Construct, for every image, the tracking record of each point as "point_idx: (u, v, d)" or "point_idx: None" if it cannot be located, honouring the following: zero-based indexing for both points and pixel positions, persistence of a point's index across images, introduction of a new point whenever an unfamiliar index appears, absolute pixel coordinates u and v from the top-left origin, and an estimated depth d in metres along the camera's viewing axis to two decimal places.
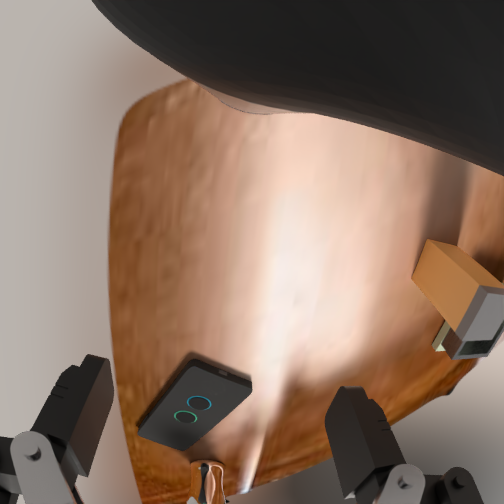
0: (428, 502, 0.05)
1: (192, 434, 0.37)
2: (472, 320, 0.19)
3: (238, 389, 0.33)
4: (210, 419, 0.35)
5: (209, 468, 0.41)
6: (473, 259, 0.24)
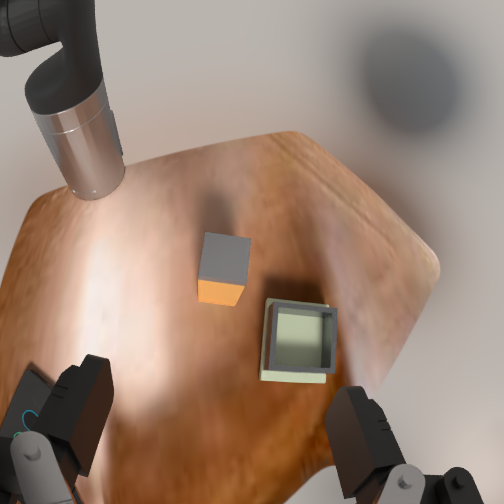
0: (428, 502, 0.05)
1: None
2: (201, 256, 0.29)
3: None
4: None
5: None
6: None
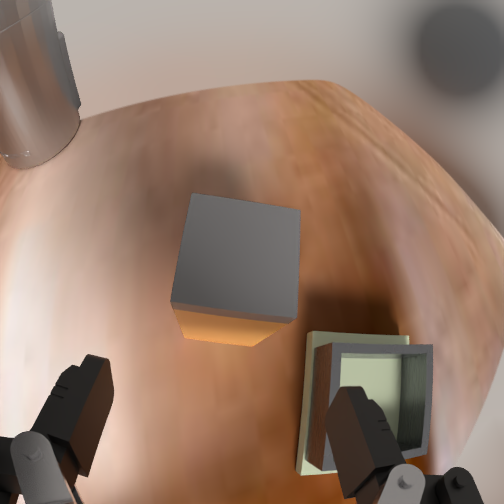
0: (428, 502, 0.05)
1: None
2: (180, 251, 0.11)
3: None
4: None
5: None
6: None
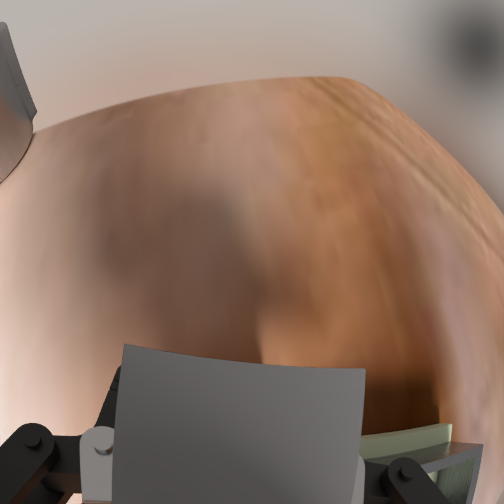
0: (370, 492, 0.06)
1: None
2: (113, 474, 0.04)
3: None
4: None
5: None
6: None
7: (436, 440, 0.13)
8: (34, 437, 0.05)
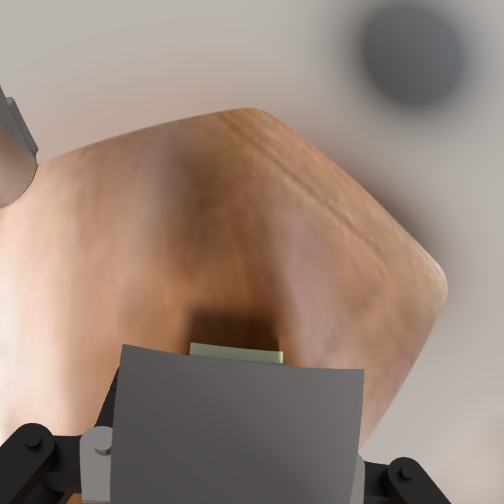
0: (370, 492, 0.06)
1: None
2: (112, 474, 0.04)
3: None
4: None
5: None
6: None
7: (268, 360, 0.26)
8: (34, 437, 0.05)
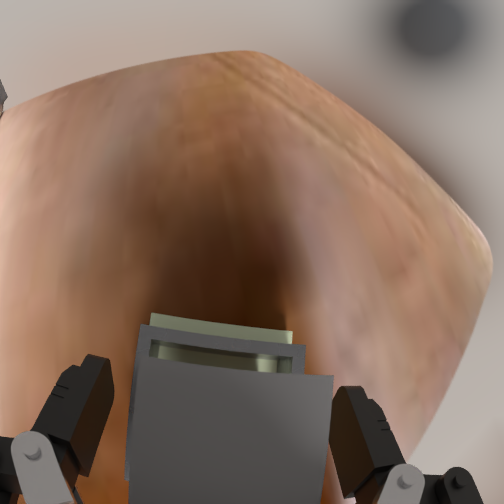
0: (428, 502, 0.05)
1: None
2: (131, 458, 0.05)
3: None
4: None
5: None
6: None
7: None
8: None
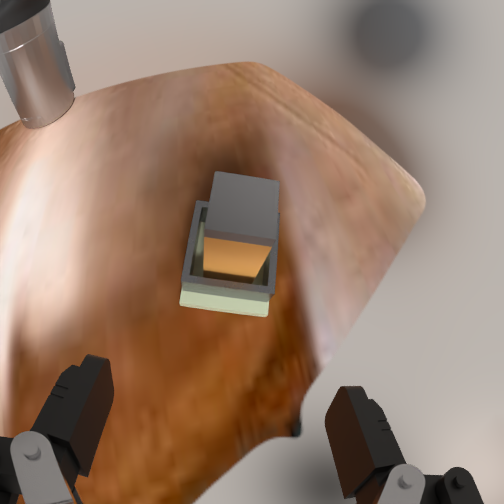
0: (428, 502, 0.05)
1: None
2: (209, 202, 0.20)
3: None
4: None
5: None
6: None
7: None
8: None
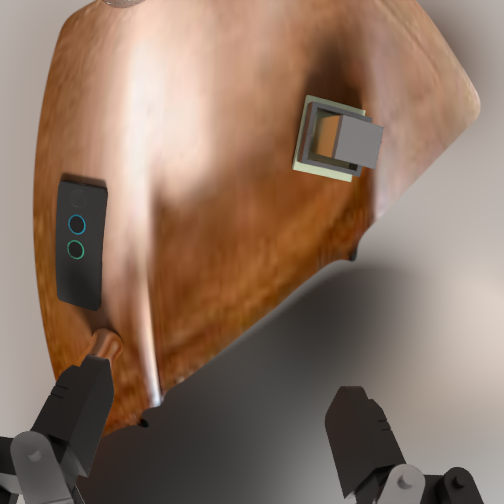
0: (428, 502, 0.05)
1: (90, 276, 0.42)
2: (338, 139, 0.28)
3: (94, 194, 0.38)
4: (92, 244, 0.41)
5: (104, 335, 0.46)
6: None
7: None
8: None
